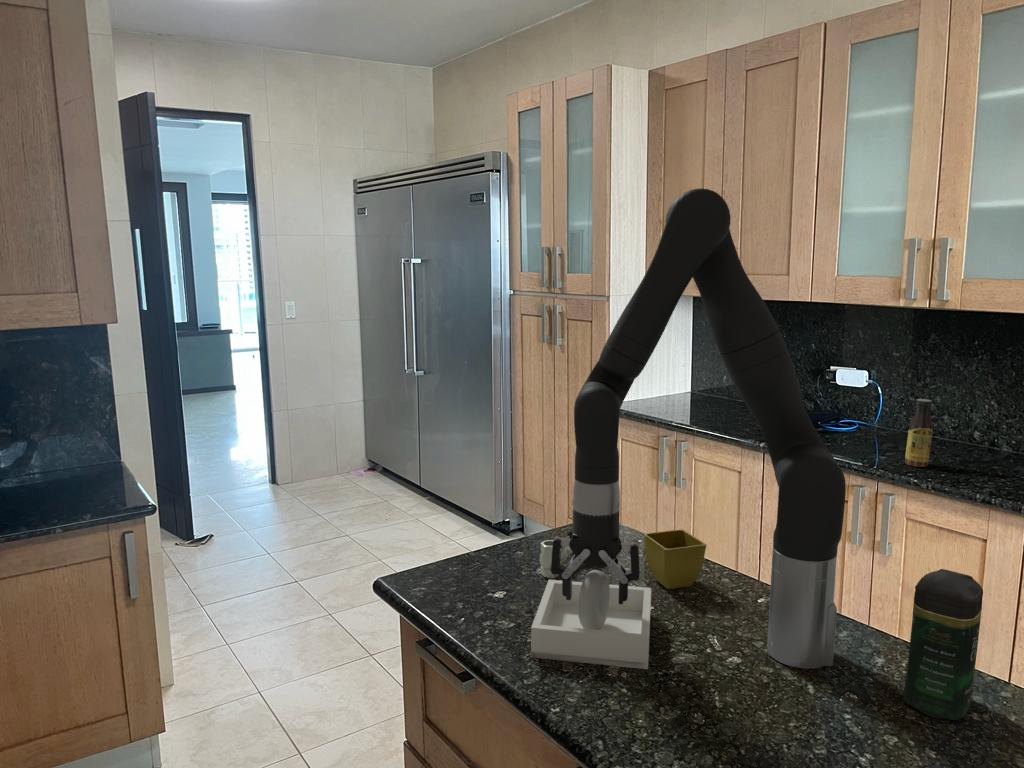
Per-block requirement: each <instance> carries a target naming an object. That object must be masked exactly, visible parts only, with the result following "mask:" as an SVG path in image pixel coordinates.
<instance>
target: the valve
mask: <svg viewBox="0 0 1024 768" xmlns="http://www.w3.org/2000/svg"><path fill="white" fill-rule="evenodd" d="M572 534H573V530H570V531H568V532H567V533H566V536H567V537H568V539H571V538H572ZM553 541H554V539H547V540H543V541H542V542H540V554H539V565H540V575H541V574H542V575H543V576H544V577H547V578H546V579H556V578H558V577H560V576H559V575H557V574H556V575H554V574H552V573H551V562H552V548H553ZM571 555H572V557H573V556H574V555H575V554H574V553H573V551H572V550H571V548H570V546H567V547H566V548H565V551H563V552H561V561H560V564H561V563H563V562H565V561H566V560H567V559H568V556H571ZM542 575H541V576H542ZM543 576H542V577H543ZM557 576H558V577H557ZM544 577H543V578H544ZM555 577H556V578H555Z"/></svg>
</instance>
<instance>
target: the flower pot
mask: <svg viewBox="0 0 1024 768" xmlns="http://www.w3.org/2000/svg"><path fill="white" fill-rule="evenodd" d="M643 536H644V548H645V559H646V561H647V565H648V568H649V570H650V572H651V574H652V576H653V578H654V580H655V581H657V582H658V583H659V584H660V585H662V586H663V587H664V588H665V589H667V590H673V589H680V588H686V587H692V585H693V584H694V583H695V582H696V581H697V578H698V577H699V575H700V573H701V571H702V568H703V565H704V559H705V555H706V548H707V544H706V543H705V542H704V541H702V540H700V539H699V538H698V537H696V536H694V535H693V534H691V533H689V532H688V531H686V530H684V529H672V530H670V529H669V530H663V531H656V532H654V531H653V532H648V533H644V534H643Z"/></svg>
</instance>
